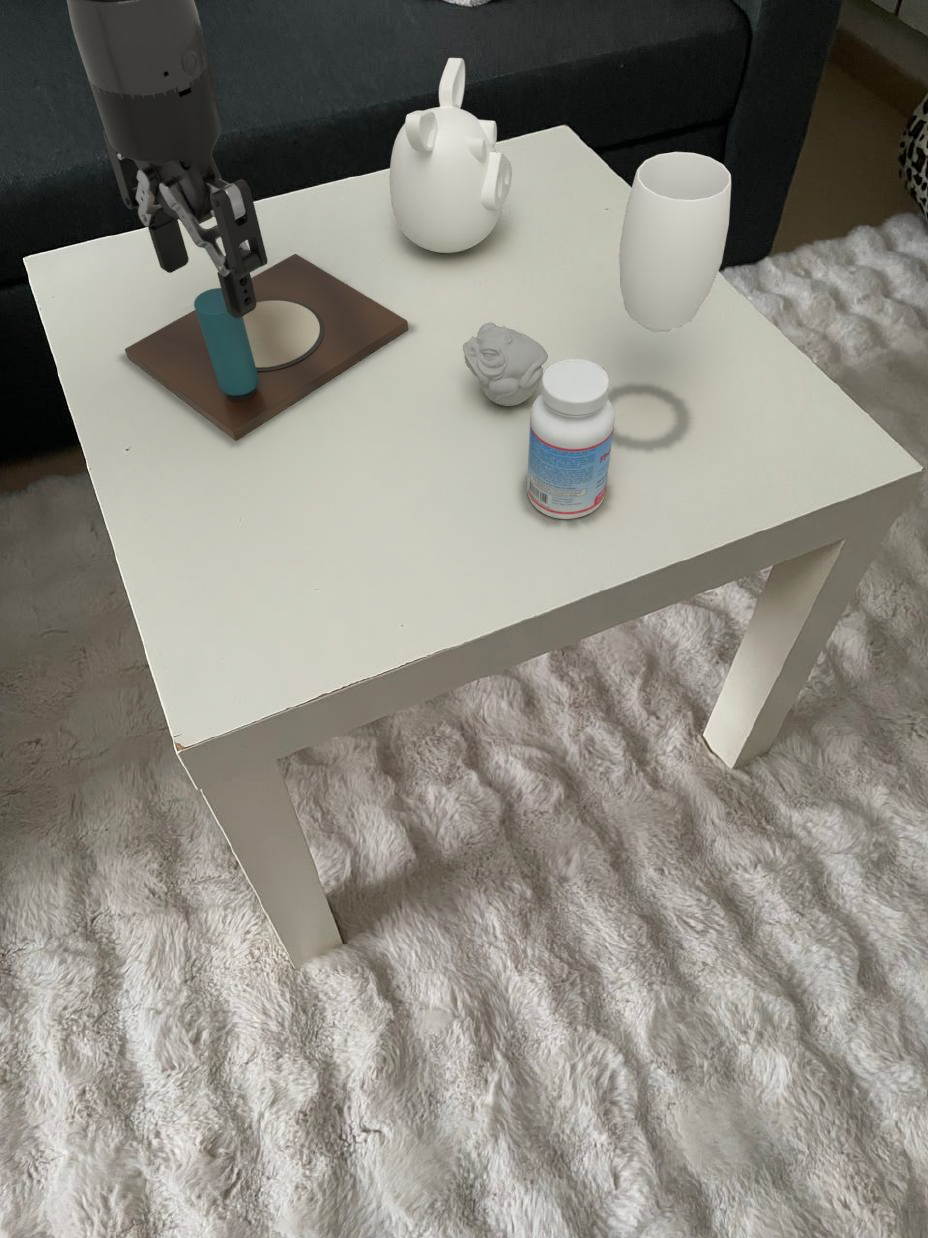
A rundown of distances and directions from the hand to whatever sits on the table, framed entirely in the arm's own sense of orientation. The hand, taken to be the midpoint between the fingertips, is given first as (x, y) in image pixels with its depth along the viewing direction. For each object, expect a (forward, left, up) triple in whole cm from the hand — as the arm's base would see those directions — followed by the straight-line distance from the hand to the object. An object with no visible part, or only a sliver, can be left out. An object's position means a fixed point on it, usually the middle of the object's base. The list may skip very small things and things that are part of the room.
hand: (208, 289), depth 71 cm
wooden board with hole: (+7, +4, -11) cm, 14 cm away
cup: (+22, -27, -11) cm, 36 cm away
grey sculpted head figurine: (+16, -17, -11) cm, 25 cm away
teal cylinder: (0, 0, -10) cm, 10 cm away
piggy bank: (+30, +3, -11) cm, 32 cm away
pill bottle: (+11, -28, -11) cm, 32 cm away
